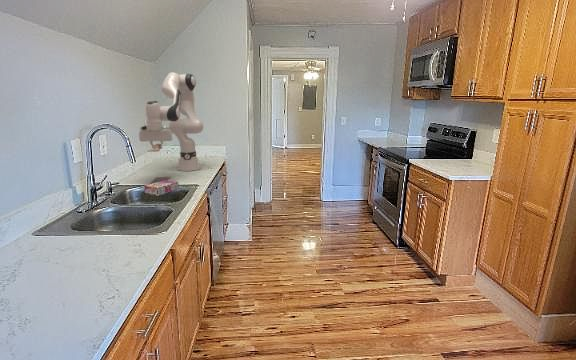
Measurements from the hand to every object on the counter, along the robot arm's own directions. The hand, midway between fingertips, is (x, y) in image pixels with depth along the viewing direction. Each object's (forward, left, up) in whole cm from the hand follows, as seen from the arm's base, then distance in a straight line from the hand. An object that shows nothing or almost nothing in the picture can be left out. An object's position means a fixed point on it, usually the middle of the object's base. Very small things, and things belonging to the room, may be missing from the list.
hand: (157, 147), depth 219 cm
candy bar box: (+18, +11, -20) cm, 29 cm away
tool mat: (+2, 0, -23) cm, 23 cm away
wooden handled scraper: (+3, 0, -1) cm, 3 cm away
